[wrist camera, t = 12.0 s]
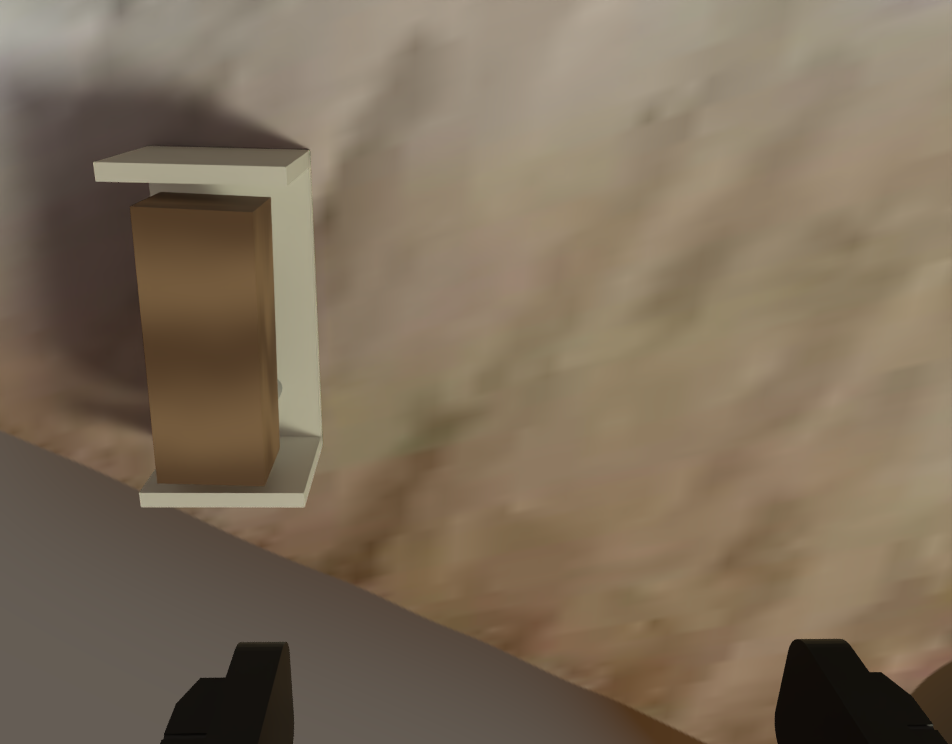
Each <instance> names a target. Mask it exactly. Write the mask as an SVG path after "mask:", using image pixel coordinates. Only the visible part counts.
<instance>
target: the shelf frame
mask: <svg viewBox="0 0 952 744" xmlns="http://www.w3.org/2000/svg"><path fill="white" fill-rule="evenodd" d="M93 166H94V173H95V181H96V182H135V183H149V190H150V197H151V196H153V195H155V194H157V193H159V192H176V193H196V194H217V195H237V196H258V197H271V214H272V242H273V269H274V297H275V325H276V353H277V381H278V409H279V437H280V449H279V452H278V454H277V457H276V459H275V462H274V464H273V467H272V469H271V472H270V474H269V477H268V479H267V482H266V484H265V486H235V485H195V484H157V475H156V469H155V470H154V472H153V473H152V475H151V476H150V478H149V479H148V481H147V482H146V483H145V485H144V486H143V488H142V489H141V491H140V492H139V496H140V503H141V507H305V504H306V501H307V497H308V494H309V490H310V487H311V484H312V480H313V477H314V473H315V470H316V466H317V463H318V459H319V456H320V453H321V449H322V446H323V438H322V415H321V392H320V369H319V346H318V323H317V300H316V277H315V253H314V230H313V207H312V184H311V161H310V150H296V149H258V148H220V147H182V146H146V147H142V148H139V149H136V150H132V151H129V152H125V153H122V154H119V155H115V156H112V157H109V158H105V159H102V160H98V161H95V162H93Z"/></svg>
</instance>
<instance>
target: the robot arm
mask: <svg viewBox="0 0 952 744" xmlns="http://www.w3.org/2000/svg"><path fill="white" fill-rule="evenodd" d="M291 682H292V681H291V667H290V652H289V646H288V643H287V642H240V643H239V644H238V645H237V647H236V649H235V651H234V654H233V657H232V660H231V664H230V666H229V669H228V673H227V675H226V678H200V679H199V680H198V681H197V682H196V683H195V684H194V685H193V686H192V688H191V689H190V690H189V691H188V692H187V693H186V694H185V695H184V696H183V697H182V698H181V699H180V700H179V701H178V702H177V703H176V705H175V708H174V711H173V713H172V716H171V718H170V720H169V723H168V725H167V728H166V730H165V733H164V739H163V740H161V743H160V744H293V737H294V711H293V698H292V697H293V696H292V683H291ZM775 732H776V738H777V743H778V744H948V743H947V742H946V741H945V740H944V738H943V737H942V736H941V734H940V733H939V732H938V730H934V728H933V724H932V722H931V721H930V720H929V718H928V717H927V716H926V714H925V713H924V712H923V711H922V709H921V708H920V706H919V705H918V704H917V702H916V701H915V700H914V698H913V697H912V696H911V695H910V694H908V693H907V692H906V691H904V690H903V689H902V688H901V687H899V686H898V685H897V684H896V683H894V682H893V681H892V680H890V679H889V678H888V677H887V676H885V675H884V674H883V673H881V672H869V671H868V670H867V668H866V667H865V665H864V664H863V663H862V661H861V660H860V658H859V657H858V656H857V654H856V653H855V651H854V650H853V649H852V647H851V646H850V645H849V643H847V642H846V641H845V640H843V639H796V640H794V641H793V642H792V643H791V645H790V647H789V650H788V655H787V659H786V664H785V669H784V673H783V678H782V683H781V687H780V692H779V697H778V701H777V706H776V711H775Z"/></svg>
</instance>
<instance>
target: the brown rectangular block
mask: <svg viewBox="0 0 952 744" xmlns="http://www.w3.org/2000/svg"><path fill="white" fill-rule="evenodd" d="M130 213H131V223H132V233H133V243H134V253H135V264H136V274H137V284H138V294H139V304H140V314H141V324H142V334H143V344H144V354H145V364H146V374H147V385H148V395H149V405H150V415H151V425H152V435H153V445H154V455H155V465H156V475H157V484H195V485H235V486H265V484H266V482H267V479H268V477H269V474H270V472H271V469H272V467H273V464H274V462H275V459H276V457H277V454H278V452H279V449H280V437H279V409H278V381H277V353H276V325H275V297H274V269H273V242H272V214H271V197H258V196H237V195H217V194H196V193H176V192H159V193H157V194H155V195H153V196H151V197H149V198H147V199H145V200H142V201H140V202H138V203H136V204H134V205H132V206H130Z"/></svg>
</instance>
